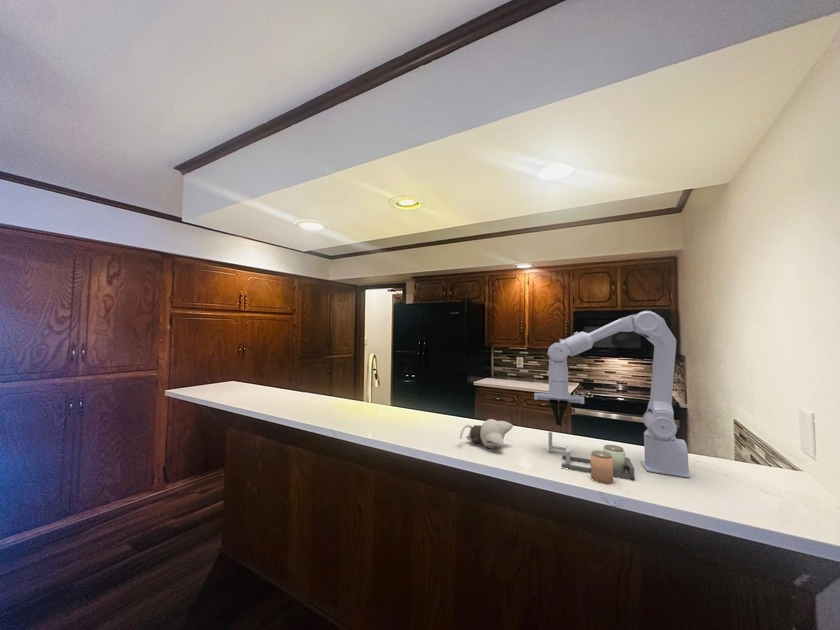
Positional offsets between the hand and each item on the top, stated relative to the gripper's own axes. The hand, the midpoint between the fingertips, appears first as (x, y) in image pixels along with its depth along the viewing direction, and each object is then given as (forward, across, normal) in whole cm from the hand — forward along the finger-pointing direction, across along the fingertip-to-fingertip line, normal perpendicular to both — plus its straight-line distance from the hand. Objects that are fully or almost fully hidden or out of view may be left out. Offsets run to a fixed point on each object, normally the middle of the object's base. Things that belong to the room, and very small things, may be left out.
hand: (558, 424), depth 103 cm
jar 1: (+9, -10, +16) cm, 21 cm away
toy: (+9, +22, +4) cm, 24 cm away
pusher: (+9, 0, +5) cm, 10 cm away
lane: (+9, -10, +8) cm, 15 cm away
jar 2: (+9, -14, +8) cm, 19 cm away
